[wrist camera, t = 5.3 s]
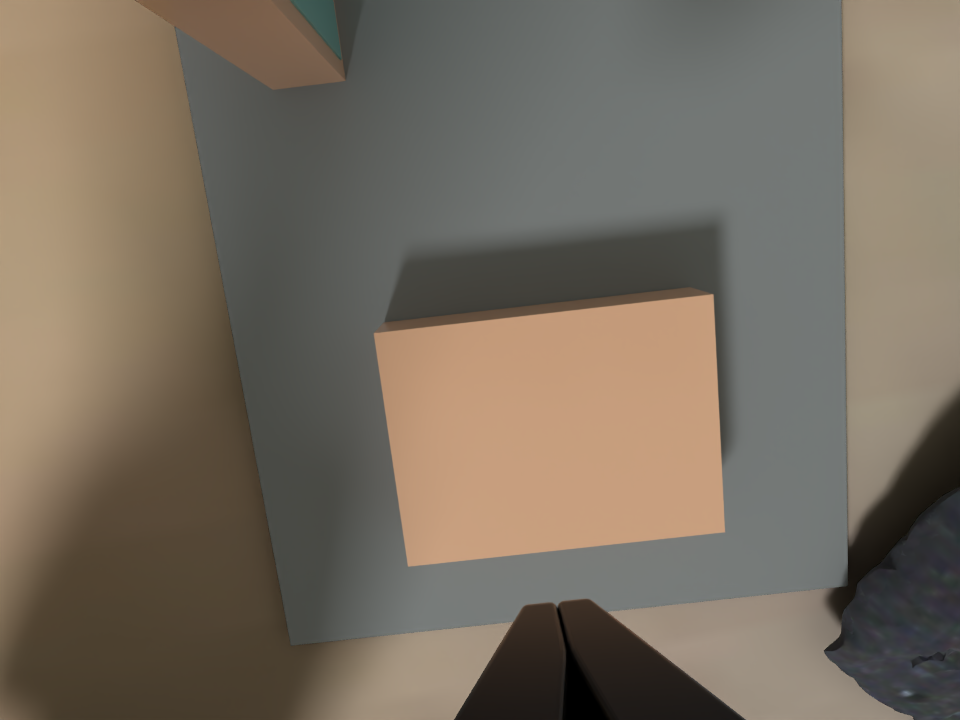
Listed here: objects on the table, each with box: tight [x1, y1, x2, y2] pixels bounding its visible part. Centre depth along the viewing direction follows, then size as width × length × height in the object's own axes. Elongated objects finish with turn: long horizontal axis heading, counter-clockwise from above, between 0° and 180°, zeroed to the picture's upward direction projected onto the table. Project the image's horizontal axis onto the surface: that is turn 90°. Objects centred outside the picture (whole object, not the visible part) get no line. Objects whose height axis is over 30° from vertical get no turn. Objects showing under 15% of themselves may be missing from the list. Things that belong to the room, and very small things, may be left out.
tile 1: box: [374, 287, 725, 567], centre depth 18 cm, size 6×2×8 cm
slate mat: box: [175, 0, 848, 646], centre depth 18 cm, size 24×16×1 cm, turn 7°
